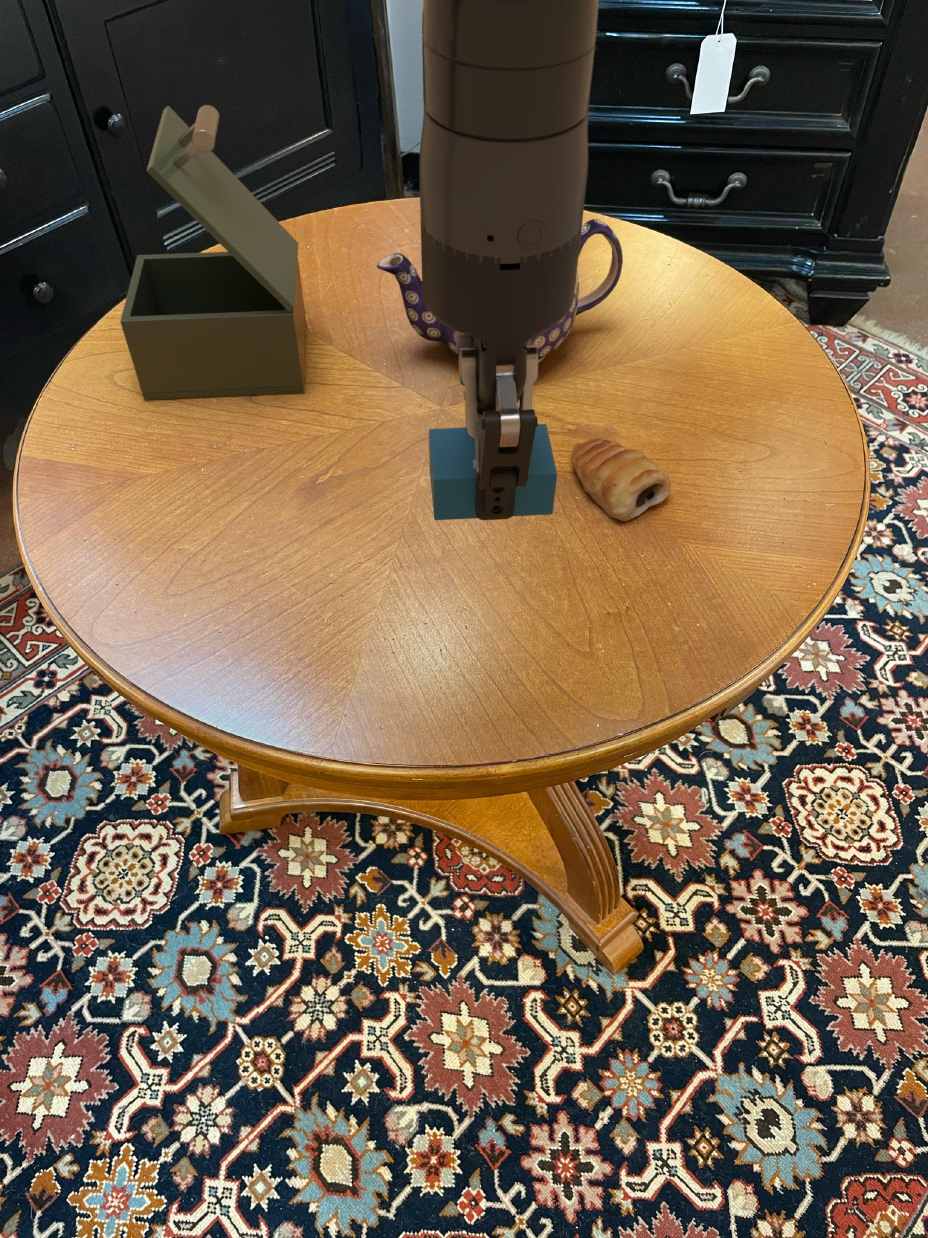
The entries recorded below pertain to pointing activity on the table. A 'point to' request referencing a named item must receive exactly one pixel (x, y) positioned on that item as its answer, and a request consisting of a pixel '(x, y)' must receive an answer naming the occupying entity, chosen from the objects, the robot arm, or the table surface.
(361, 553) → the table surface
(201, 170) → the lid
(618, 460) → the pastry
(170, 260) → the bin
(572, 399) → the table surface
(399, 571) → the table surface
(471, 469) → the blue rectangular block
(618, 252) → the teapot
